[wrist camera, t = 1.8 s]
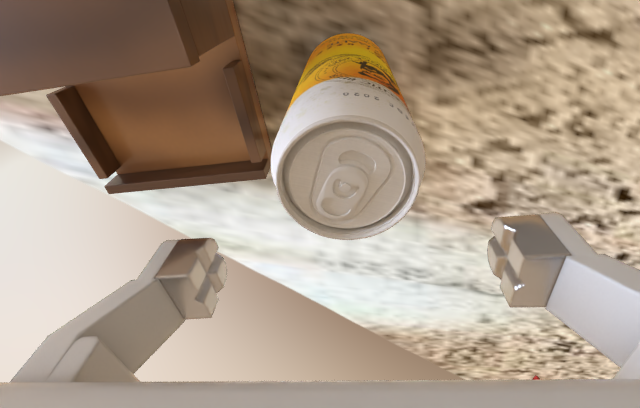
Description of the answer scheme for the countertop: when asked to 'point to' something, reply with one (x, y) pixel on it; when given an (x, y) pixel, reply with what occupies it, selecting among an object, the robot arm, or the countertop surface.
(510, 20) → the countertop surface
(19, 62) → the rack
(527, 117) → the countertop surface
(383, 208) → the beer can
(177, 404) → the robot arm
